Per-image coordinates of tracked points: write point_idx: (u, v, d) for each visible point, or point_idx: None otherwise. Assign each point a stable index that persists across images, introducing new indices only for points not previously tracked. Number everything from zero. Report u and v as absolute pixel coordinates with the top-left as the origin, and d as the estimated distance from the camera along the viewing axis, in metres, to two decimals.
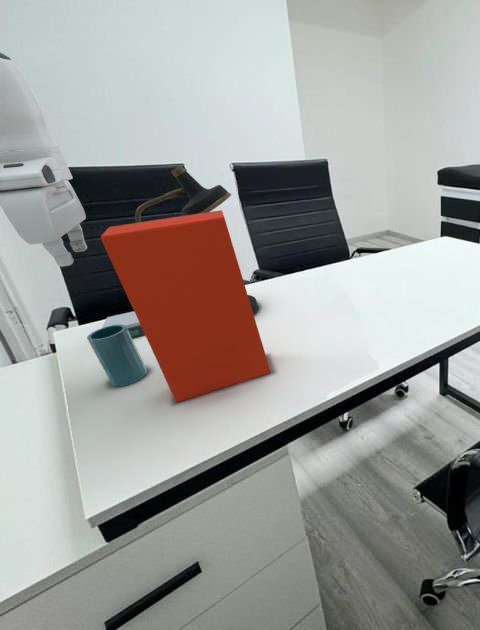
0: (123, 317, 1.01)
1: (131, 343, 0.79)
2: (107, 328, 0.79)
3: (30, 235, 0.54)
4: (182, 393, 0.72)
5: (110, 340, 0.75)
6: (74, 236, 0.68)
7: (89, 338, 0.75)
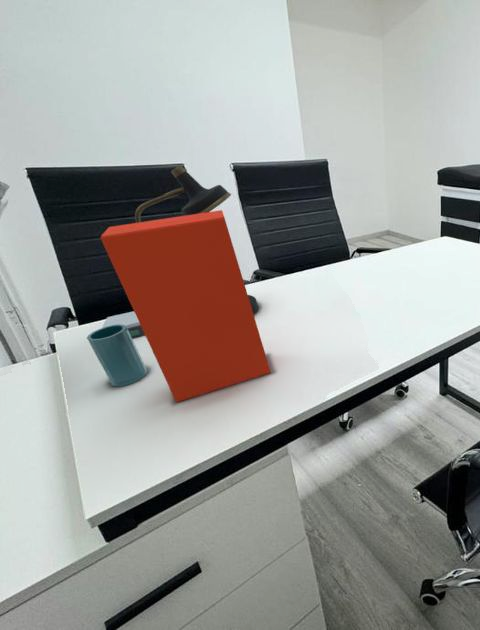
0: (123, 317, 1.01)
1: (131, 343, 0.79)
2: (107, 328, 0.79)
3: None
4: (182, 393, 0.72)
5: (110, 340, 0.75)
6: None
7: (89, 338, 0.75)
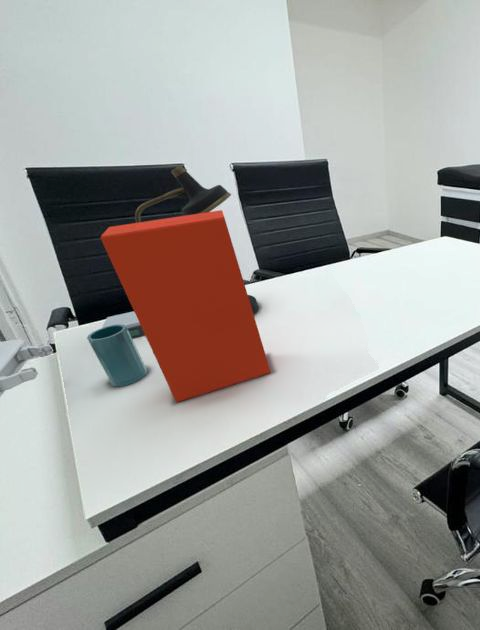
0: (123, 317, 1.01)
1: (131, 343, 0.79)
2: (107, 328, 0.79)
3: None
4: (182, 393, 0.72)
5: (110, 340, 0.75)
6: None
7: (89, 338, 0.75)
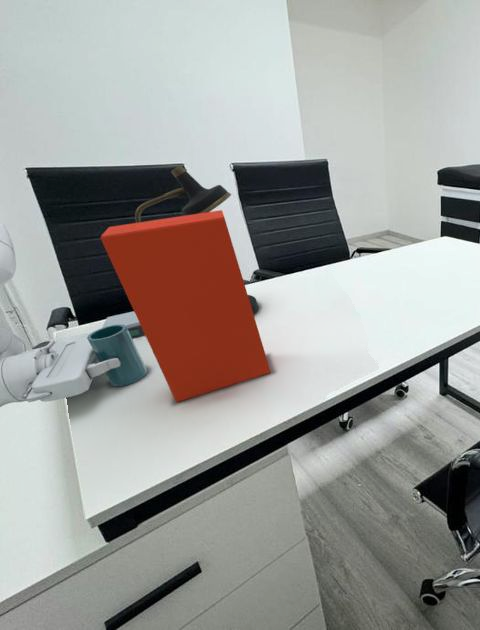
0: (123, 317, 1.01)
1: (131, 343, 0.79)
2: (107, 328, 0.79)
3: None
4: (182, 393, 0.72)
5: (110, 340, 0.75)
6: None
7: (89, 338, 0.75)
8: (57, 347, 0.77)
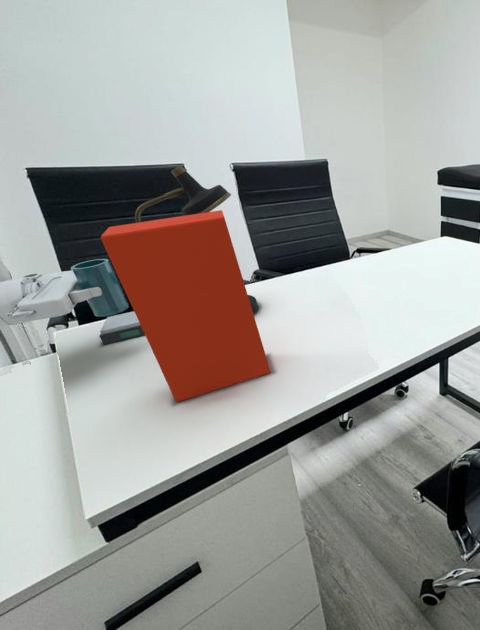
0: (123, 317, 1.01)
1: (113, 276, 0.83)
2: (91, 262, 0.83)
3: None
4: (182, 393, 0.72)
5: (92, 269, 0.80)
6: None
7: (73, 267, 0.79)
8: (43, 279, 0.82)
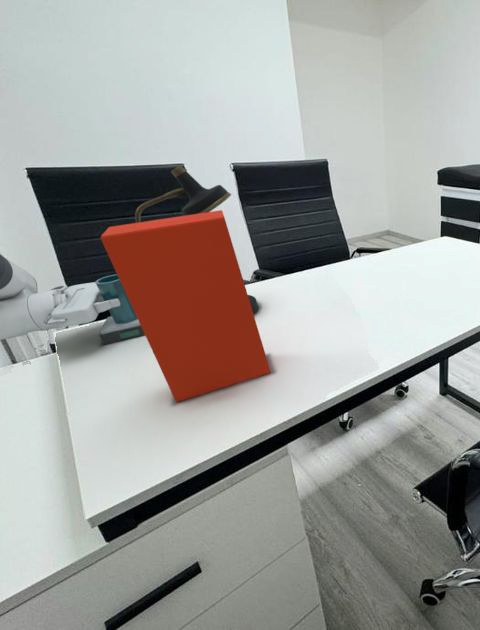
0: None
1: None
2: (111, 276, 0.97)
3: None
4: (182, 393, 0.72)
5: (113, 284, 0.93)
6: None
7: (97, 282, 0.93)
8: (69, 290, 0.96)
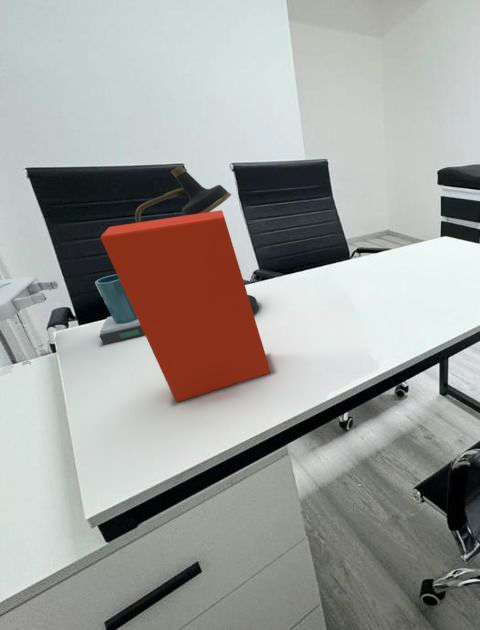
0: None
1: None
2: (111, 276, 0.97)
3: None
4: (182, 393, 0.72)
5: (113, 284, 0.93)
6: None
7: (97, 282, 0.93)
8: None
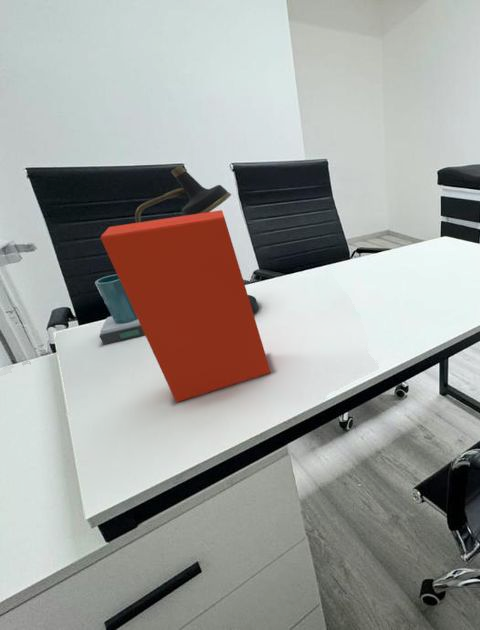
0: None
1: None
2: (111, 276, 0.97)
3: None
4: (182, 393, 0.72)
5: (113, 284, 0.93)
6: None
7: (97, 282, 0.93)
8: None
